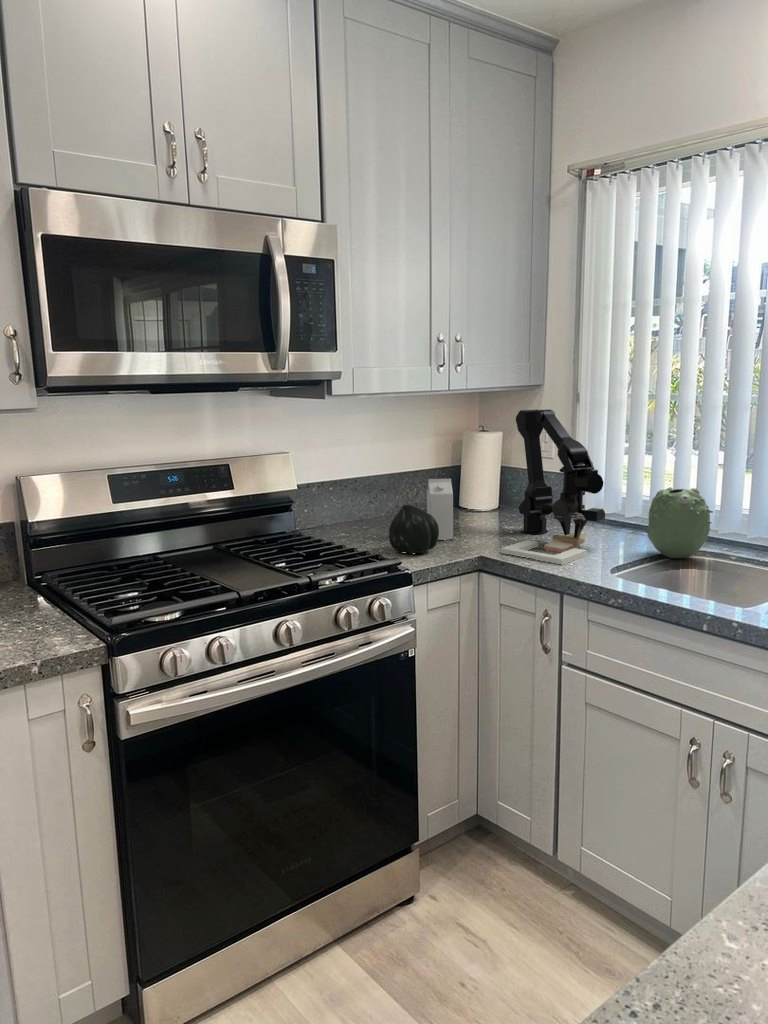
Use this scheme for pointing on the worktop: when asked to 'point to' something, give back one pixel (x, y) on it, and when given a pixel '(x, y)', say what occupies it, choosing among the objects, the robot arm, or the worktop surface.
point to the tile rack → (558, 558)
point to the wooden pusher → (570, 539)
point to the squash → (413, 530)
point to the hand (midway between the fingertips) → (571, 539)
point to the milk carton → (441, 505)
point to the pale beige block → (558, 546)
